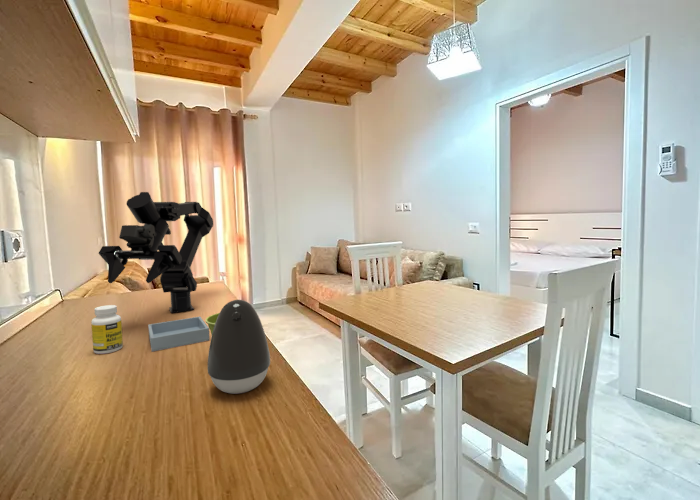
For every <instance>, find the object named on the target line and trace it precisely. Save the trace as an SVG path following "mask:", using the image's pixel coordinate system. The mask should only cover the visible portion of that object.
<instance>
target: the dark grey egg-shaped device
mask: <svg viewBox="0 0 700 500" xmlns="http://www.w3.org/2000/svg"><path fill="white" fill-rule="evenodd" d="M218 313H219V315H218V317H217V320H216V323H215V326H214V329H213V333H212V335H211V338H210V342H209V347H208V348H209V349H208V354H207V356H208V357H207V374H208V375H209V376H210V379H211V381H212V383H213V385H214V386H215V387H216V388H217V389H218V390H220V391H221V392H224V393H226V394H227V393H228V394H235V395H236V394H244V393H247V392H249V391H252V390H254V389H256V388H257V387H258V386H260V385H261V383H262V382H263V381H264V379H265V378H266V375H267V374H268V370H269V367H270V365H271V356H270V355H271V354H270V349H269V345H268V340H267V337H266V332H265V330H264V326H263V324H262V321H261V319H260V317H259V314H258V313H257V311H256V309H255V308H254V307H253V305H252V304H251V303H250V302H249V301H246V300H243V299H232V300H231V301H229V302H227V303H226V304H224V306H223V307H222V308H221V310H220V312H218Z"/></svg>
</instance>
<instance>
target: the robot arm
mask: <svg viewBox="0 0 700 500" xmlns="http://www.w3.org/2000/svg"><path fill="white" fill-rule="evenodd" d="M125 205H126V206H127V208H128V209H129V210H130V212H131V214H132V215H133V216H134V218H135V220H136V221H137V223H138V225H137V224H136V225H135V224H131V225H129V224H128V225H127V224H126V225H125V224H123V225H121V228H120V232H119V236H118V238H119V240H123V241H125V242H126V244H125V245H126V247H127V248H129V249H130V250H123V248H122V247H121V246H120V245H103V246H102V247H101V248H100V249H99V251H98V254H99V256H100V257H101V258H102V259H103V260H104V262H105V263H106V264H107V265H108V267H107V268H108V270H107V271H108V272H107V282H108V283H109V284H113V283H114V282H115V281H116V280H117V279H118V278H119V276H120V275H121V274H122V272H124V270H125V268H126V267H125V266H126V265H127V263H128V262H129V260H135V259H137V260H140V261H141V260H144V261H146V260H147V261H148V260H151V261H153V262H152V264H151V267H150V269H149V270H148V273H147V276H146V279H145V281H146V283H147V284H150V283H151V282H152V281H154V280H155V279H157V278H158V277H160V284H161V288H162V289H161V290H162V292H163V293H165V294H166V293H170V307H169V308H168V309H169V312H170V313H171V314H175V313H181V312H189V311H194V310H195V308H194V307H193V305H192V295H191V292H195V291H197V287H198V282H197V280H196V279H195V278H194V276H193V275H194V274H193V271H192V269H191V266H192V264H193V261H194V259H195V257H196V254H197V251H198V249H199V247H200V244H201V242H202V239H203V238H204V237H206V236H207V235H208V234H210V232H211V231H212V228H213V227H214V219H213V217H212V215H211V214H210V212H209V211H208V210H206V209H205V208H204V207H202V206H201V204H200V202H197V201H185V202H180V203H179V202H176V201H154V199H153V198H152V197H151V194H150V192H149V191H140V192H139V194H137V195H134V196H132V197H130V198H128V199H127V201H126V204H125ZM192 214H193V215H192ZM195 214H197V215H195ZM181 216H184V218H183V221H184V223H185V224H186V225H185V226H186V228H187V234H186V236H185V238H184V240H183V242H182V244H181V247H180V248H179V250H178V248H177V246H176V245H174V244H163V240H164V239H165V236H166V235H171V232H172V231H171V229H170V225H169V223H168V222H176V221H178V220H179V219H181ZM139 223H140V224H143V225H139Z"/></svg>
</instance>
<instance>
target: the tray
mask: <svg viewBox="0 0 700 500" xmlns="http://www.w3.org/2000/svg"><path fill="white" fill-rule="evenodd" d="M147 327H148V339H149V344H150V350H151V352H157V351H161V350H167V349H172V348H178V347H182V346H187V345H192V344H193V345H194V344H197V343H203V342H207V341H211V338H210V329H209V326H208V324H207V323H206V321H204V320H203V318H202V317H201V316H194V317H189V318H188V317H187V318H181V319H175V320H169V321H163V322H161V321H160V322H157V323H156V322H155V323H151V324H148V325H147Z"/></svg>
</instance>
